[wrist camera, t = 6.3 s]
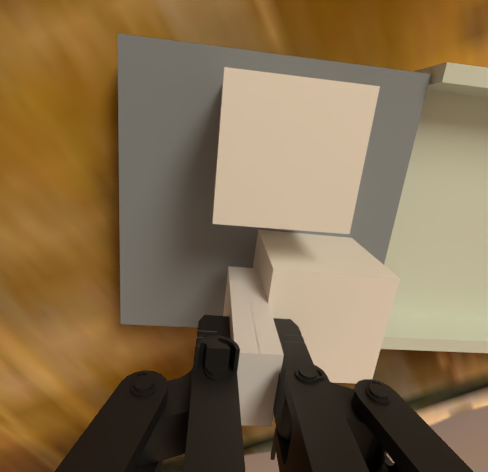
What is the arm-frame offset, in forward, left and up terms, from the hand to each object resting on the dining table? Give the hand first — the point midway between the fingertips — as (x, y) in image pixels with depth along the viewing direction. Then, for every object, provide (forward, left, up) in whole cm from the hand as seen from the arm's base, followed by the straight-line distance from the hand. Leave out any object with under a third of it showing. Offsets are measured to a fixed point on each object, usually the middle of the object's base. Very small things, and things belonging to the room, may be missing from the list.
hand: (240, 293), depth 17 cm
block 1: (+1, +7, -2) cm, 7 cm away
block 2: (+3, 0, -2) cm, 4 cm away
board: (+1, +4, -4) cm, 6 cm away
